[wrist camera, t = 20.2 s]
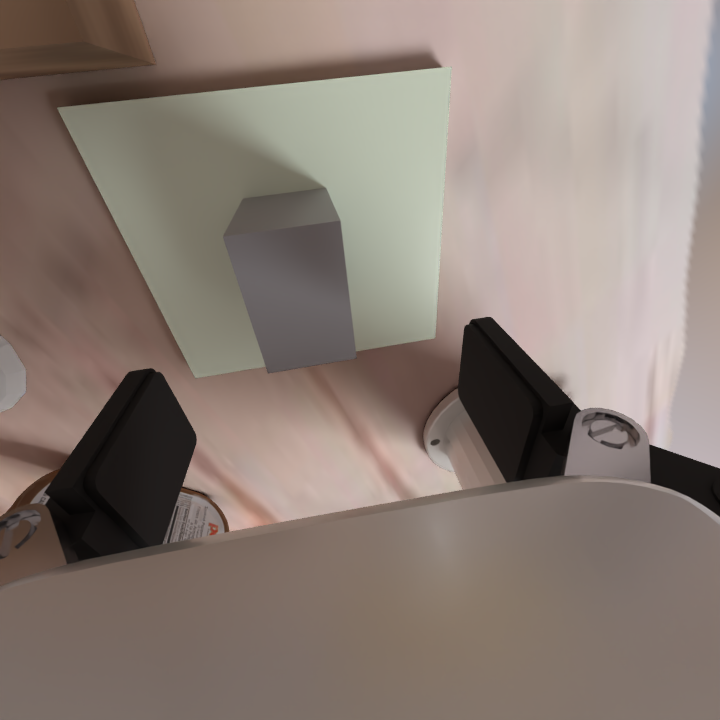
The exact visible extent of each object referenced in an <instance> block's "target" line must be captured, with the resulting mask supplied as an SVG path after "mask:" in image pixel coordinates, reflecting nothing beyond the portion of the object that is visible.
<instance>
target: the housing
mask: <svg viewBox="0 0 720 720" xmlns="http://www.w3.org/2000/svg"><path fill="white" fill-rule="evenodd" d="M155 64H156V63H155V60H154V57H153V54H152V51H151V48H150V45H149V42H148V40H147V37H146V34H145V31H144V28H143V25H142V22H141V19H140V16H139V14H138V11H137V8H136V5H135V2H134V0H0V80H3V79H13V78H23V77H33V76H43V75H54V74H64V73H74V72H84V71H94V70H104V69H114V68H125V67H135V66H145V65H155Z"/></svg>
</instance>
